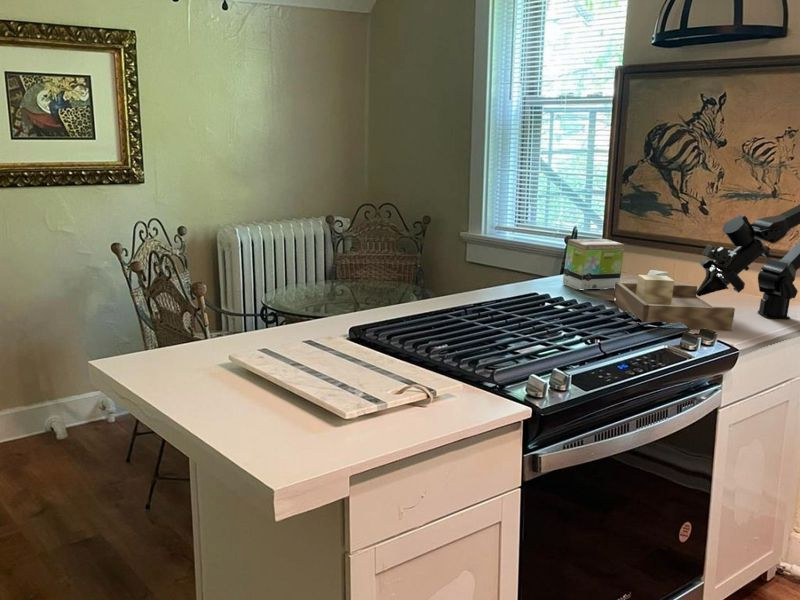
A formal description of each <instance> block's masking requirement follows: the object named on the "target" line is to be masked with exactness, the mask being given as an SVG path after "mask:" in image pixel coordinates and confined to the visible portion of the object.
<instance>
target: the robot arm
mask: <svg viewBox="0 0 800 600" xmlns="http://www.w3.org/2000/svg"><path fill="white" fill-rule="evenodd" d="M798 225H800V204H797V205H795V206H794V207H792V208H790V209H788V210H786V211H784V212H782V213H780V214H778V215H772V216H765V217H761V218H758V219H756V220H755V221H754V222H753V223H750V222H749V219H748V217H747V216H746V215H743V214H739V215H738V216H737V217H734V218H731V219H729V220H727V221H726V222H725V223H724V224H723V226H722V232H724V235H725V236H726V237H727V238H728V240H729V241H730V243H731V244H732V245H733V246H734V247H736V248H734V249H733V250H730V249H729V250H728V249H727V248H725V247H722V246H720V247H719V248H717V247H715V246H712V245H710V244H707V245H706V247H705V248H704V250H703V252H702V255H703V256H704V258H703V259H701V260H700V261H699V264H700V266H701V268H703V269H704V270H705V278H704V279H703V281H702V283H701V284H700V286H699V287H698V288H697V292H696V296H697V297H702V296H705V295H708V294H711V293H712V294H713V293H715V292H719V291H723V290H728V289H729V287H728V286H729V285H730V284H731V286H732V287H733V290H734V291H735V292H736V293H738V294H739V293H741V292H742V291H743V290H744V289H745V286H746V285H745V284H746V282H744V281H743V279H742V278H741V277H740V276H739V274H741V272H743V271H746V272H747V271H748V270H750V267H749V266H750V265H751V264H753V262H754V261H756V260H757V259H758V258H760V256H763V257H765V258H767V259H769V257H770V250H771V248H770V246H767V245H764V243H763V242H766V243H770V244H776V243H778V242H779V241H781V240H782V239H784V238H785V237H786V236H787V234H788V232H789V231H790V230H791V229H793V228H794V227H796V226H798ZM798 269H800V240H799V241H798V242H797V243H796V244H795V245H794V246H793V247H792V248H791V249H790V250H789V251H788V252H787V253H786V254H785V255H784V256H783V257H782V258H781V259H779V260H777V259H774V258H771V259H769V260H768V261H767V263H766V264H765V265H763V266H762V267H760V271H759V273H758V274H757V283H758V289H759V292H760V293H763V295H762V298H760V301H759V302H760V304H759V309H758V310H757V313H758V314H759V315H761V316H763V317H765V318H767V319H781V320H782V319H784V320H790V319H791V317H790V316H789V315H788V314H789V307H790V303H791V302H790V301H791V300H792V299H795V298H796V296H797V294H798V289H797V288H796V286H795V284H794V282H795V280H796V274H797V271H798Z"/></svg>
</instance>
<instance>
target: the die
mask: <svg viewBox="0 0 800 600" xmlns="http://www.w3.org/2000/svg"><path fill="white" fill-rule="evenodd" d="M646 275H657V276H668V277H669V278H671V277H670V273H669V271H663V270H655V269H650V270H649V272H648V273H647V274H646Z"/></svg>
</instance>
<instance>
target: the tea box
mask: <svg viewBox="0 0 800 600" xmlns="http://www.w3.org/2000/svg"><path fill="white" fill-rule="evenodd" d="M625 246H626V245H625V244H624V243H621V242H619V241H618V242H617V241H614V240H611V239H607V238H587V239H585V238H581V239H579V238H578V239H577V238H575V239H573V238H572V239H568V240H567V247H566V253H565V262H564V269H563V270H564V271H563V275H562V276H563V277H562V285H565V286H567V287H569V288H572V289H574V290H577V289H600V290H605V289H604V288H614V287H615V283H616V282H621V276H622V267H623V259H624V254H625V253H624V252H625Z"/></svg>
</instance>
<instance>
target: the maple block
mask: <svg viewBox="0 0 800 600" xmlns="http://www.w3.org/2000/svg"><path fill="white" fill-rule="evenodd" d="M636 283H637V289H636V295H637V296H638V297H639V298H641V299H642V300H643V301H644V302H646V303H647V304H657V305H671V301H672V294H673V287H674V284H675V280H674V279H672V278H671V277H670V278H669V277H668V276H657V275H647V274H638V275H637V281H636Z"/></svg>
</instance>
